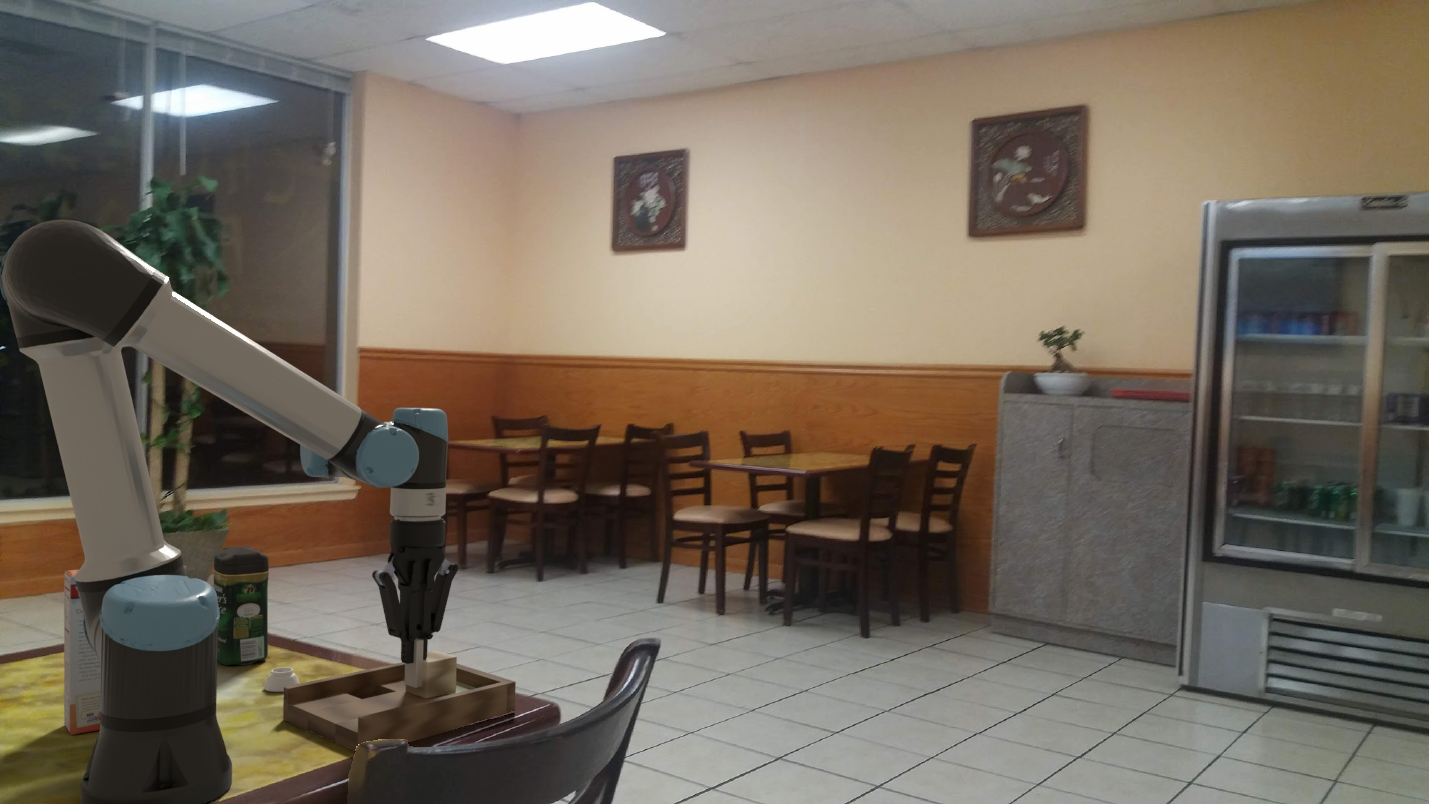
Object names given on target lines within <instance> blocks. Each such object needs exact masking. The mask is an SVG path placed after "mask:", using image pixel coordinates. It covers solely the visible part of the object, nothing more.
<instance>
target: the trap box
mask: <svg viewBox="0 0 1429 804" xmlns="http://www.w3.org/2000/svg"><path fill="white" fill-rule="evenodd" d="M516 685H517V683H516V681H514V680H511V679H508V678H504V677H501V676H497V675H495V674H491V673H489V672H486V671H482V670H479V669H475V668H472V667H470V666H466V665H463V664H459V663H457V666H456V692H452V693H448V694H444V695H439V696H435V697H431V698H423V697H420V696H417V695H414V694H412V693H409V692H406V691H405V690H406V684H405V663H403V662H402V661H401V662H398V663H393V664H388V665H383V666H377V667H374V668H373V667H372V668H368V669H363V670H360V671H354V672H350V673H344V674H339V675H335V676H330V677H326V678H321V679H316V680H312V681H311V680H310V681H306V682H300V684H296V685H291V686H286V687H284V692H283V707H282V709H283V710H282V712H283V714H282V719H283V721H285V722H287V723H290V724H292V725H294V726H297V727H298V728H301V729H303V730H306V731H308V732H310V733H312V734H314V735H316V736H319V737H321V738H323V739H325V740H327V741H330V742H332V743H335V744H337V745H340V746H341V747H344V748H346V749H348V750H350V751H353V752H355V749H356V746H358V744H361V743H363V742H366V741H373V740H378V739H407V740H408V741H409V743H412V742H416V741H419V740H420V741H421V740H423V739H427V738H430V737H433V736H437V735H440V734H445V733H448V731H449V732H452V731H455V730H454V729H456V730H459V729H458V728H459V727H462V726H466V725H468V724H471V723H475V722H477V721H482V720H485V719H489V718H492V717H494V716H501V715H503V714H506V713H509V712H511V711H515V712H516V688H517V687H516ZM451 730H452V731H451Z"/></svg>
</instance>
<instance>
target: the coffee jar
mask: <svg viewBox="0 0 1429 804" xmlns="http://www.w3.org/2000/svg"><path fill="white" fill-rule="evenodd" d="M213 558H214V560H213V588H214V589H215V591H216V594H217V600H218V607H219V612H220V617H219V623H218V645H217V662H219V663H220V664H222V665H225V666H228V665H234V666H235V665H237V666H248V665H253V664H255V663H257V662H260V661H265V660H266V659H267V657H268V655H269V653H268V652H269V645H268V644H269V636H268V635H269V634H268V633H269V631H268V629H269V628H268V627H269V626H268V624H269V621H268V619H269V618H268V611H269V610H268V606H269V605H268V604H269V603H268V601H269V599H268V598H269V592H268V590H269V589H268V587H269V575H270V572H269V571H270V565H269V564H270V563H269V556H268V555H267V554H265V553H264V552H262V551H259V550H256V549H255V548H252V547H250V546H249V545H242V546H241V545H239V546H238V545H237V546H227V547H223V548H222V549H221V550H219V551H218V552H216V554H215V555H214V557H213Z"/></svg>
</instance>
